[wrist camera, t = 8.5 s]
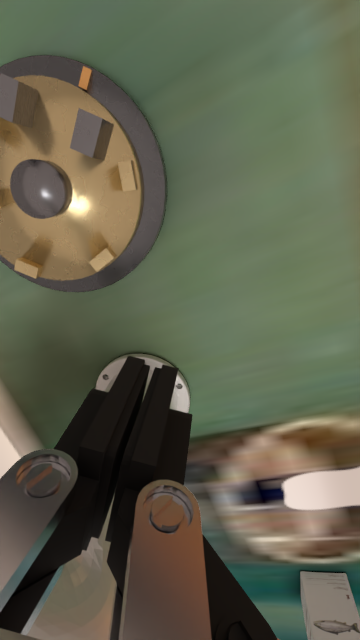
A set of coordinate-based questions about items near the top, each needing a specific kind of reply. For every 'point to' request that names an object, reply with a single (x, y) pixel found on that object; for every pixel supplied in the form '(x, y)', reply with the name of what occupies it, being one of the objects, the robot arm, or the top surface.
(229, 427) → the top surface
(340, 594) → the supplement box
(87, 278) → the housing
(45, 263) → the round gold dish
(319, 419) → the top surface
